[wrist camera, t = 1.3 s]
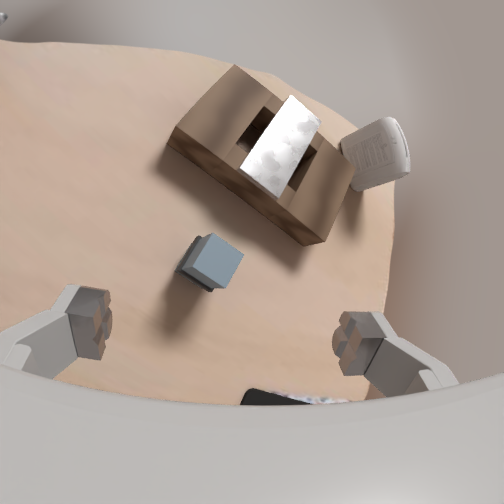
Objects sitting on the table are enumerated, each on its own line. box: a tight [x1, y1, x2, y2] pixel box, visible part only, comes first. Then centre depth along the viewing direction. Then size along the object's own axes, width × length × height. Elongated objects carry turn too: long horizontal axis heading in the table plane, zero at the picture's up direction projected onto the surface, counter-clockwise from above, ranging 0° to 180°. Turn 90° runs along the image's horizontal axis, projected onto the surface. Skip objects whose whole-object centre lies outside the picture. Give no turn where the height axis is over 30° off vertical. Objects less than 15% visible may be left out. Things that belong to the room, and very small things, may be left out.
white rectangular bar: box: [236, 95, 321, 200], centre depth 41 cm, size 6×15×4 cm, turn 149°
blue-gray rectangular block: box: [175, 233, 244, 292], centre depth 35 cm, size 5×5×8 cm
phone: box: [240, 388, 312, 406], centre depth 41 cm, size 7×1×15 cm
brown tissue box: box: [167, 65, 356, 246], centre depth 42 cm, size 24×14×5 cm, turn 59°
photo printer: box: [341, 117, 410, 192], centre depth 47 cm, size 10×4×12 cm, turn 10°
